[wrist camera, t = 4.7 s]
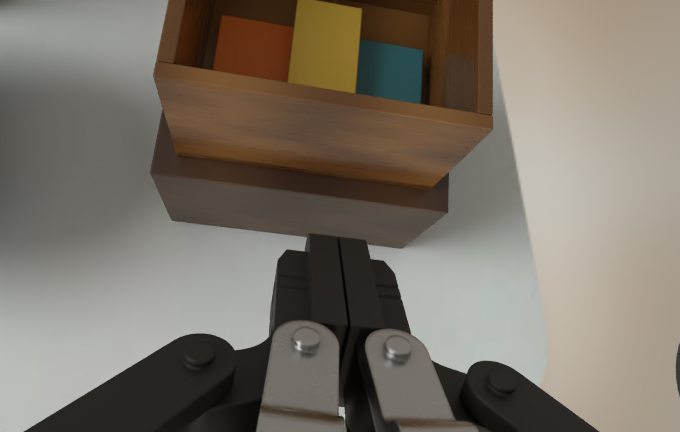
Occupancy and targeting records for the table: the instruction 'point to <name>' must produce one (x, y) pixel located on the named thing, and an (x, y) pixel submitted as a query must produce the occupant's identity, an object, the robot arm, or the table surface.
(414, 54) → the teal packet
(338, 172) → the wooden box
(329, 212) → the stand
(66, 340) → the table surface
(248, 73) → the orange packet
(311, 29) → the yellow rectangular block
